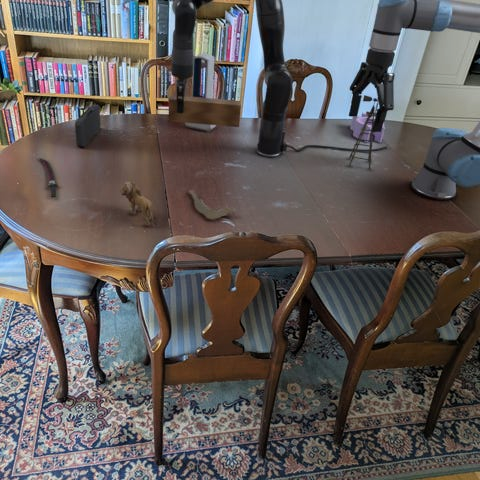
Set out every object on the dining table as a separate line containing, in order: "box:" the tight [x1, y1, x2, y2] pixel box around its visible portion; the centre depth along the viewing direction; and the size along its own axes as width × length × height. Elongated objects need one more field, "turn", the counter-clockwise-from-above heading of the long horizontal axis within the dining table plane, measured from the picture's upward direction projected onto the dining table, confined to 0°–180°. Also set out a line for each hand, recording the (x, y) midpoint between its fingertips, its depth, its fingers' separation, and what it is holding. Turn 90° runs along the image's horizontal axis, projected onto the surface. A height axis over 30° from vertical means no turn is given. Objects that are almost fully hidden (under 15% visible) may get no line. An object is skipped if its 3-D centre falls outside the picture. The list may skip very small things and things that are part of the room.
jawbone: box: [188, 189, 239, 221], centre depth 143 cm, size 9×20×2 cm, turn 50°
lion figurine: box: [119, 181, 159, 227], centre depth 134 cm, size 15×5×9 cm, turn 50°
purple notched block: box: [349, 112, 386, 143], centre depth 214 cm, size 20×12×7 cm, turn 11°
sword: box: [40, 158, 59, 198], centre depth 151 cm, size 31×3×1 cm, turn 26°
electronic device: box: [184, 53, 217, 133], centre depth 195 cm, size 12×8×30 cm, turn 71°
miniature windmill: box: [348, 94, 379, 170], centre depth 177 cm, size 9×8×30 cm
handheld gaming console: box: [74, 103, 101, 148], centre depth 180 cm, size 23×3×10 cm, turn 178°
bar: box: [167, 94, 242, 128], centre depth 169 cm, size 26×6×8 cm, turn 92°
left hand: (181, 110), depth 169 cm, fingers closed on bar, 5 cm apart
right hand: (364, 123), depth 142 cm, fingers open, 13 cm apart
